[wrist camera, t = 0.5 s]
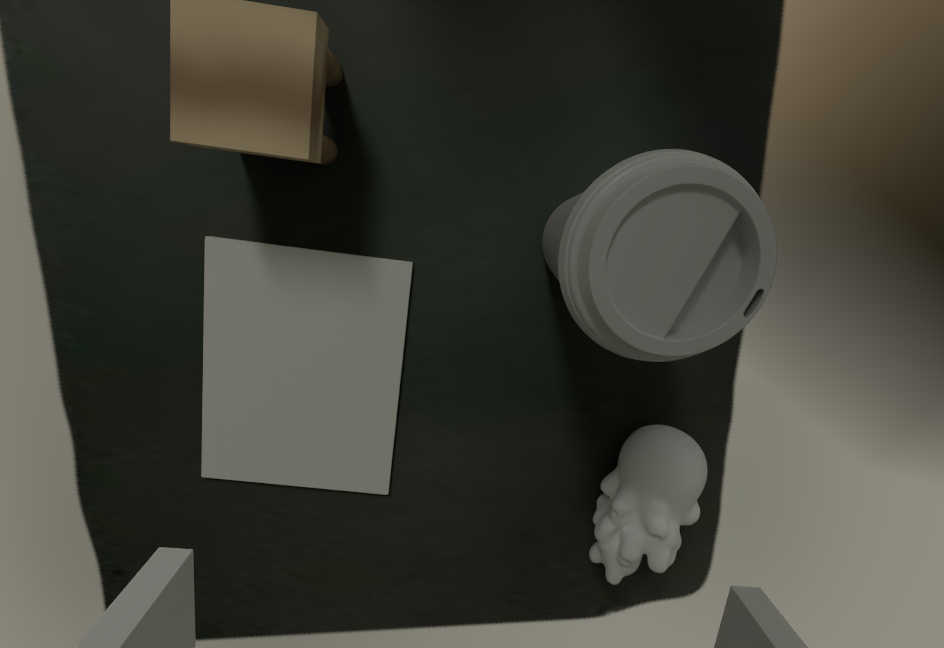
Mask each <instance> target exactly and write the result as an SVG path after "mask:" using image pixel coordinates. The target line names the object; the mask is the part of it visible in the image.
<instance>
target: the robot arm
mask: <svg viewBox="0 0 944 648" xmlns="http://www.w3.org/2000/svg"><path fill="white" fill-rule="evenodd" d="M194 647H195V609H194V567H193V550H192V549H178V548H163V547H159V548H158V550H157V551H156V552H155V553H154V554H153V555H152V557H151V558H150V559H149V560H148V561H147V563H146V564H145V565H144V566H143V567H142V568H141V570H140V571H139V572H138V573H137V574H136V575H135V577H134V578H133V579H132V580H131V581H130V583H129V584H128V585H127V586H126V587H125V588H124V590H123V591H122V592H121V593H120V594H119V596H118V597H117V598H116V599H115V600H114V601H113V603H112V604H111V605H110V606H109V607H108V608H107V610H106V611H105V612H104V613H103V614H102V616H101V617H100V618H99V619H98V620H97V621H96V623H95V624H94V625H93V626H92V627H91V629H90V630H89V631H88V632H87V633H86V635H85V636H84V637H83V638H82V639H81V640H80V641H79V643H78V644H77V645H76V646H75V647H74V648H194ZM714 648H807V646H806V645H805V644H804V642H803V641H802V640H801V639H800V637H798V635H797V634H796V632H795V631H794V630H793V629H792V627H791V626H790V625H789V624H788V622H787V621H786V620H785V619H784V617H783V616H782V615H781V614H780V613H779V611H778V610H777V608H776V607H775V606H774V605H773V604H772V602H771V601H770V600H769V598H768V597H767V596H766V595H765V593H764V592H763V591H762V590H761V588H754V587H739V586H731V588H730V591H729V595H728V599H727V602H726V606H725V610H724V613H723V617H722V621H721V624H720V628H719V632H718V636H717V639H716V643H715V647H714Z"/></svg>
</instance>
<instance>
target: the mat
mask: <svg viewBox="0 0 944 648" xmlns="http://www.w3.org/2000/svg"><path fill="white" fill-rule="evenodd" d="M412 267H413V262H407V261H399V260H391V259H383V258H376V257H368V256H360V255H352V254H344V253H336V252H328V251H321V250H313V249H305V248H297V247H289V246H281V245H273V244H266V243H258V242H250V241H242V240H234V239H226V238H218V237H211V236H205V274H204V341H203V408H202V476H201V477H206V478H217V479H227V480H238V481H248V482H258V483H269V484H279V485H290V486H300V487H311V488H321V489H331V490H342V491H352V492H363V493H373V494H384V495H388V493H389V484H390V474H391V465H392V455H393V446H394V437H395V427H396V418H397V408H398V399H399V389H400V380H401V370H402V361H403V352H404V342H405V333H406V323H407V314H408V304H409V295H410V285H411V276H412Z"/></svg>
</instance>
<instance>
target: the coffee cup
mask: <svg viewBox="0 0 944 648" xmlns="http://www.w3.org/2000/svg"><path fill="white" fill-rule="evenodd" d="M542 249H543V254H544V258H545V261H546V263H547V265H548V267H549V268H550V270H551V271H552V272H553V274H554V275H555V277H556V278H557V279H558V281H559V282H560V287H561V291H562V295H563V298H564V300H565V303H566V305H567V308H568V310H569V312H570V313H571V315H572V317H573V318H574V320H575V321H576V323H577V324H578V325H579V327H580V328H581V329H582V330H583V331H584V332H585V333H586V334H587V335H588V336H589V337H590V338H591V339H592V340H593V341H595V342H596V343H597V344H599V345H600V346H602V347H603V348H605V349H607V350H609V351H611V352H613V353H615V354H618V355H620V356H623V357H627V358H630V359H635V360H642V361H651V362H664V361H673V360H679V359H683V358H687V357H691V356H694V355H697V354H700V353H702V352H704V351H707V350H709V349H712V348H714V347H716V346H718V345H720V344H722V343H724V342H725V341H727V340H728V339H730V338H731V337H733V336H734V335H735V334H737V333H738V332H739V331H740V330H741V329H742V328H744V327H745V326H746V325H747V324H748V322H749V321H750V320H751V319H752V318H753V317H754V315H755V314H756V312H757V311H758V310H759V308H760V307H761V305H762V303H763V302H764V300H765V298H766V296H767V294H768V292H769V289H770V287H771V284H772V281H773V277H774V274H775V269H776V261H777V242H776V235H775V230H774V226H773V223H772V220H771V218H770V215H769V213H768V211H767V209H766V207H765V206H764V204H763V202H762V201H761V199H760V198H759V196H758V195H757V193H756V192H755V190H754V189H753V188H752V186H751V185H750V184H749V183H748V182H747V181H746V180H745V179H744V178H743V177H742V176H741V175H740V174H739V173H738V172H736V171H735V170H734V169H733V168H731V167H730V166H728V165H726V164H725V163H723V162H721V161H719V160H717V159H715V158H712V157H710V156H707V155H705V154H701V153H698V152H694V151H689V150H682V149H662V150H655V151H649V152H645V153H642V154H638V155H636V156H633V157H630V158H628V159H626V160H624V161H622V162H620V163H618V164H616V165H615V166H613V167H612V168H610V169H609V170H607V171H606V172H605V173H603V174H602V175H601V176H600V177H598V178H597V179H596V180H595V181H594V182H593V183H592V184H591V185H590V186H589V187H588V188H587V190H586V191H585V192H583V193H581V194H579V195H577V196H575V197H573V198H571V199H569V200H567V201H565V202H564V203H562V204H561V205H560V206H559V207H558V208H557V209H556V210H555V211H554V212H553V213H552V214H551V216H550V217H549V219H548V221H547V223H546V226H545V228H544V232H543V237H542Z"/></svg>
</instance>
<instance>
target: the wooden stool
mask: <svg viewBox="0 0 944 648" xmlns="http://www.w3.org/2000/svg"><path fill="white" fill-rule="evenodd" d="M328 36H329V29H328V28H327V26H326V25H325V23H324V22H323V20H322V19H321V18H320V16H319V15H318V13H317V12H312V11H306V10H300V9H294V8H287V7H281V6H275V5H268V4H262V3H256V2H249V1H243V0H171V141H175V142H179V143H183V144H188V145H192V146H197V147H204V148H211V149H218V150H226V151H233V152H240V153H245V154H250V155H253V154H254V155H262V156H269V157H276V158H283V159H290V160H298V161H305V162H312V163H319V164H322V165H328V164H331V163H332V162H334V160H335V159H336V157H337V154H338V149H337V146H336V144H335V142H334V141H333V140H332V139H331V138H329V137H327V136H325V135H324V134H322V132H323V116H324V100H325V87H327V88H333V87H336V86H337V85H339V84H340V82H341V81H342V78H343V69H342V66H341V65H340V63H339V62H338V61H337V59H336V58H335V57H334V56H333V54H332V53H331V52H330V50H329V49H328Z"/></svg>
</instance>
